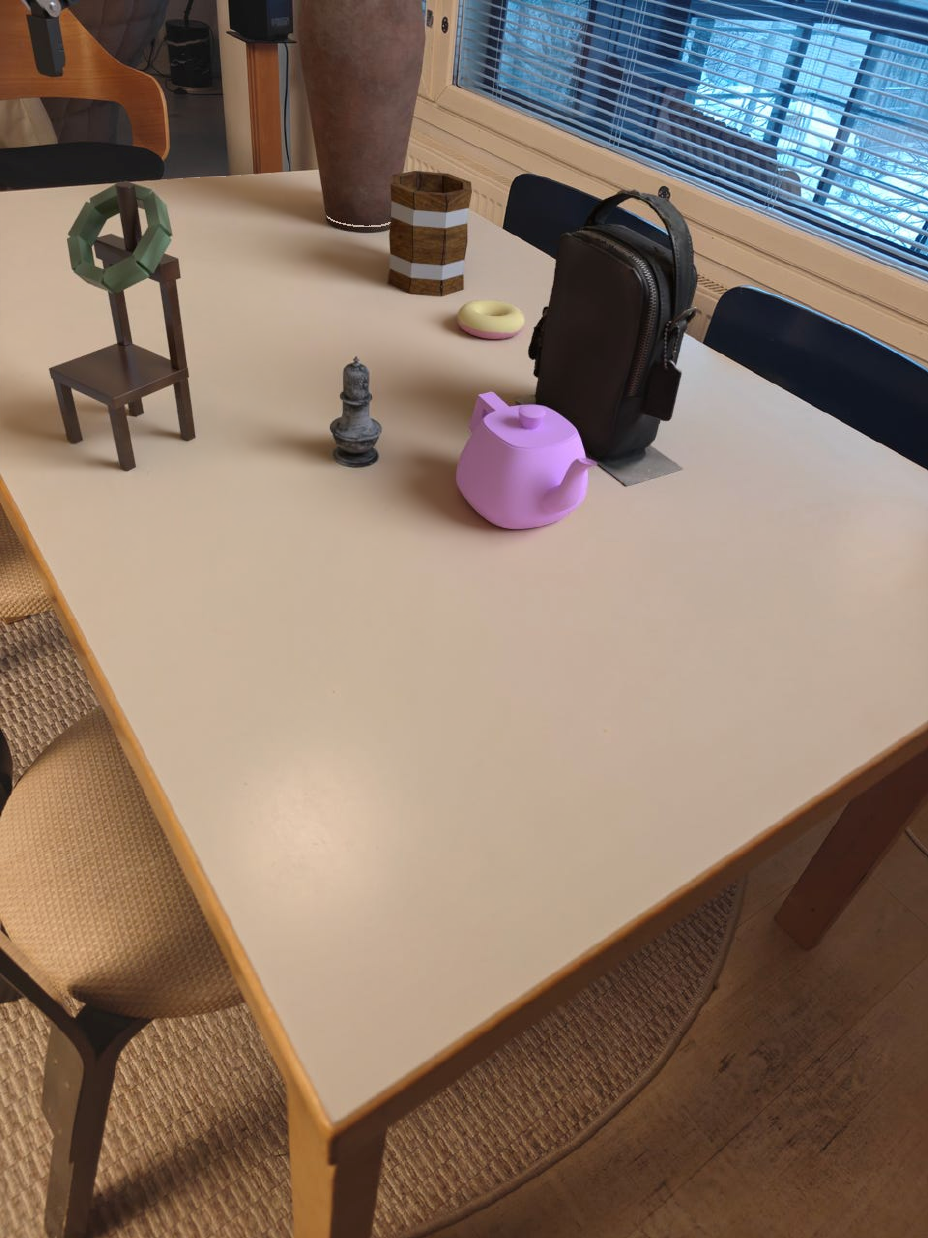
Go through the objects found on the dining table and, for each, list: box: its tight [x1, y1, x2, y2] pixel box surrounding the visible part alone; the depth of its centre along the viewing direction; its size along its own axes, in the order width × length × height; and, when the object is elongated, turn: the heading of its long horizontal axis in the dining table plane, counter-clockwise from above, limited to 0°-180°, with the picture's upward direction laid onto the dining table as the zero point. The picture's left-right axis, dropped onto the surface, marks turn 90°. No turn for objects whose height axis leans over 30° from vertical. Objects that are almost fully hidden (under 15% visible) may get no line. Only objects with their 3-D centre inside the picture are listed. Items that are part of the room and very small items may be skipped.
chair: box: [48, 181, 196, 472], centre depth 89 cm, size 11×10×26 cm
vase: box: [296, 0, 427, 234], centre depth 150 cm, size 21×26×45 cm
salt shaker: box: [329, 355, 383, 468], centre depth 95 cm, size 6×6×12 cm
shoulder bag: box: [514, 188, 699, 487], centre depth 99 cm, size 23×9×28 cm, turn 33°
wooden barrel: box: [387, 170, 473, 297], centre depth 140 cm, size 20×14×15 cm
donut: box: [456, 299, 525, 340], centre depth 129 cm, size 10×5×9 cm
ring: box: [66, 180, 174, 294], centre depth 86 cm, size 11×11×2 cm
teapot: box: [455, 391, 598, 530], centre depth 91 cm, size 13×20×11 cm
